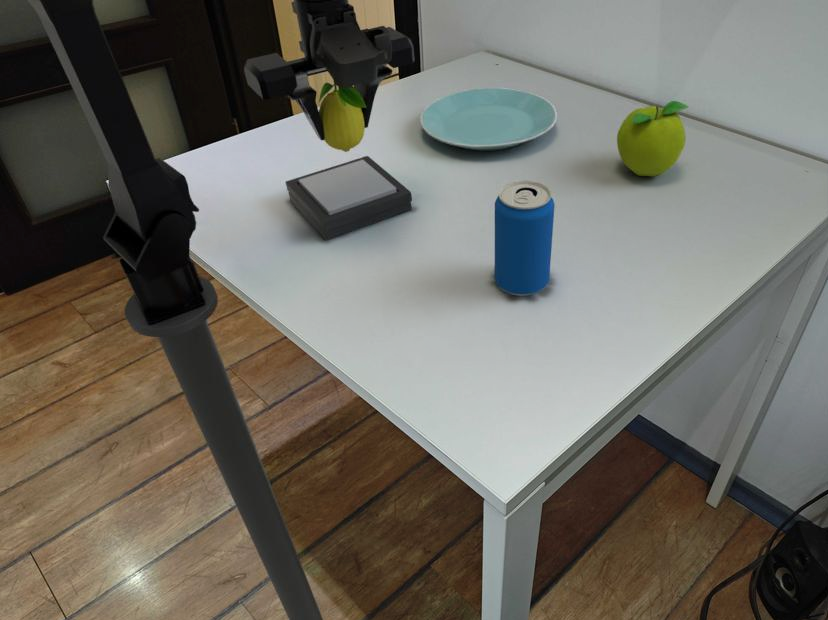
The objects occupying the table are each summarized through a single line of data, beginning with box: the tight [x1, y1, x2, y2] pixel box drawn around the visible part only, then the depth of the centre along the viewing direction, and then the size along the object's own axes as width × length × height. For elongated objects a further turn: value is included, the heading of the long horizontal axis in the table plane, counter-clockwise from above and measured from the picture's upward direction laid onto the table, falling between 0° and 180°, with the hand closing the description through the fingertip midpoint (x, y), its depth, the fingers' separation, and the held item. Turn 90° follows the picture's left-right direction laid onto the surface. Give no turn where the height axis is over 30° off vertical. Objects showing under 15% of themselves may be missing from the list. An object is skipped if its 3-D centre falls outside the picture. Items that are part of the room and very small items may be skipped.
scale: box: [285, 155, 413, 241], centre depth 92 cm, size 13×13×3 cm
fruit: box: [616, 100, 689, 177], centre depth 95 cm, size 9×9×10 cm
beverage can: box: [494, 180, 555, 297], centre depth 75 cm, size 6×6×12 cm
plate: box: [419, 86, 558, 151], centre depth 108 cm, size 22×22×3 cm
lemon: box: [318, 82, 366, 153], centre depth 80 cm, size 7×6×10 cm
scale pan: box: [298, 160, 397, 216], centre depth 92 cm, size 10×10×2 cm
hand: (343, 132), depth 82 cm, fingers closed on lemon, 5 cm apart
